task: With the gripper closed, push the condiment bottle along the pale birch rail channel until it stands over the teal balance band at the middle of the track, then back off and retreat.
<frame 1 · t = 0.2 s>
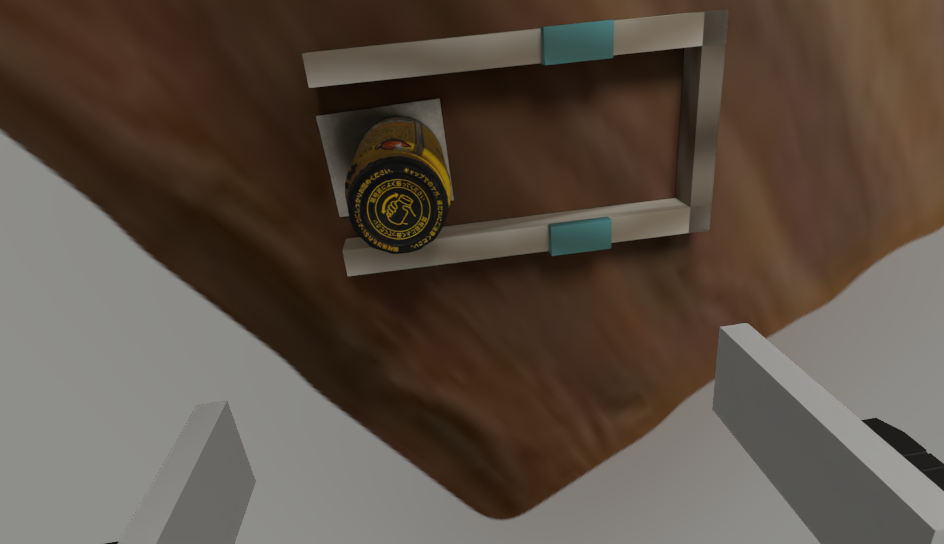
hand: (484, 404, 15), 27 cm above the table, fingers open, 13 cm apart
rail track: (519, 144, 39), on the table
condiment: (388, 158, 39), on the table
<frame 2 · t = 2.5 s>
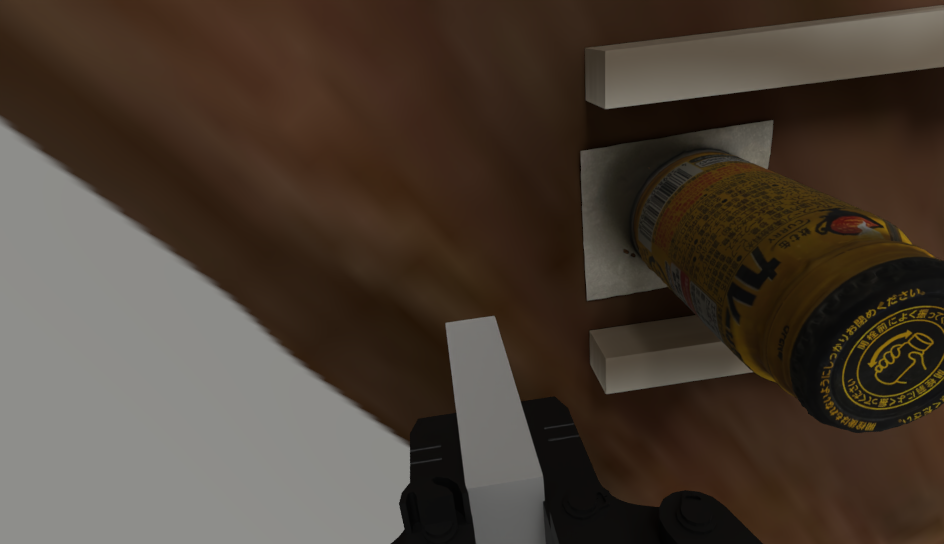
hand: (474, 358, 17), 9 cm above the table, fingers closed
rail track: (873, 187, 25), on the table
condiment: (671, 212, 25), on the table
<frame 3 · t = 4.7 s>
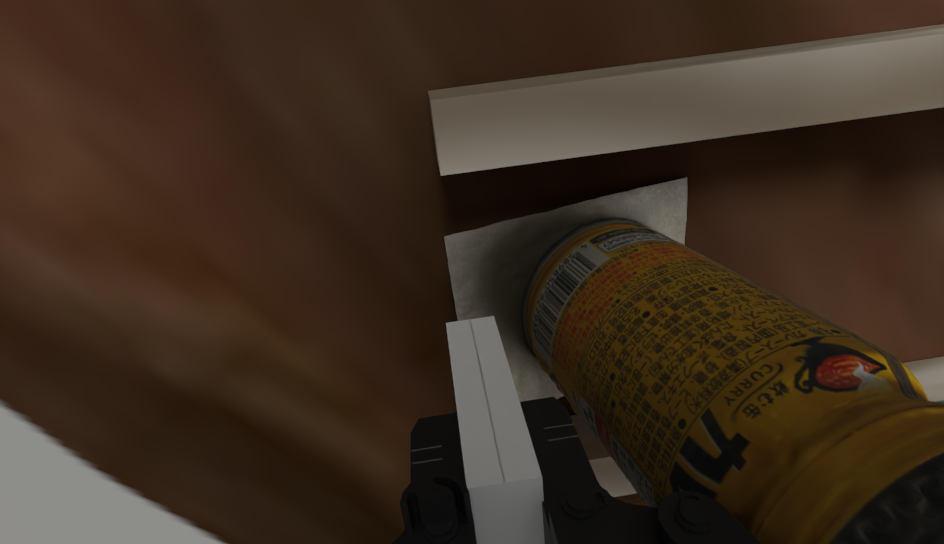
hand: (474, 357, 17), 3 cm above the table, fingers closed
rail track: (821, 255, 20), on the table
condiment: (572, 300, 19), point 1 cm above the table, touching gripper, hand
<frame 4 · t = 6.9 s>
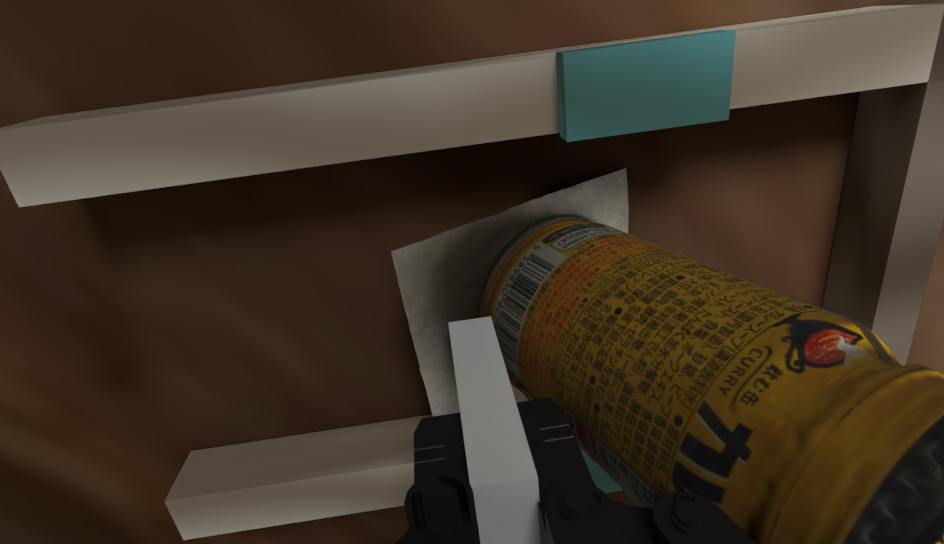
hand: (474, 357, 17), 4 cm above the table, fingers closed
rail track: (515, 278, 20), on the table
condiment: (526, 303, 19), point 1 cm above the table, touching gripper
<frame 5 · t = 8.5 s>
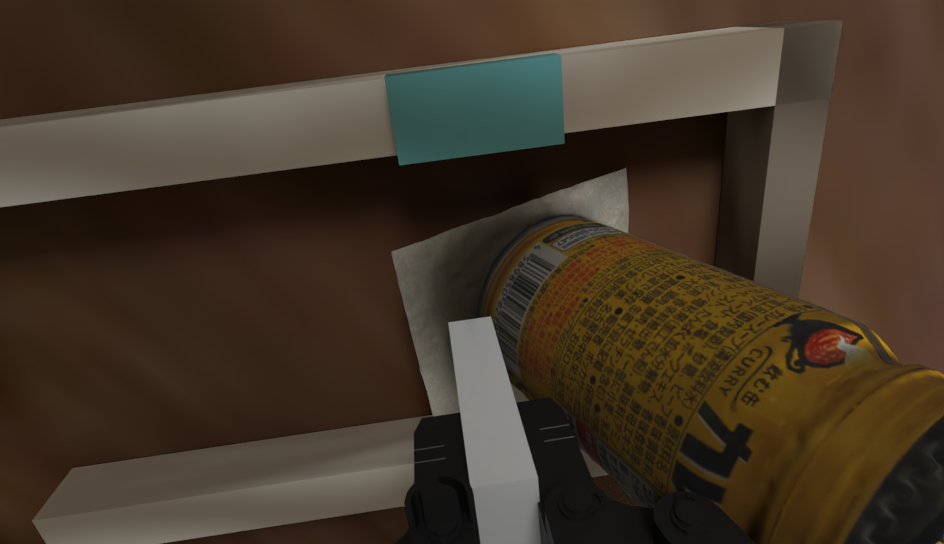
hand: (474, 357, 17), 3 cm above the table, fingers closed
rail track: (391, 296, 20), on the table
condiment: (526, 303, 19), point 1 cm above the table, touching gripper
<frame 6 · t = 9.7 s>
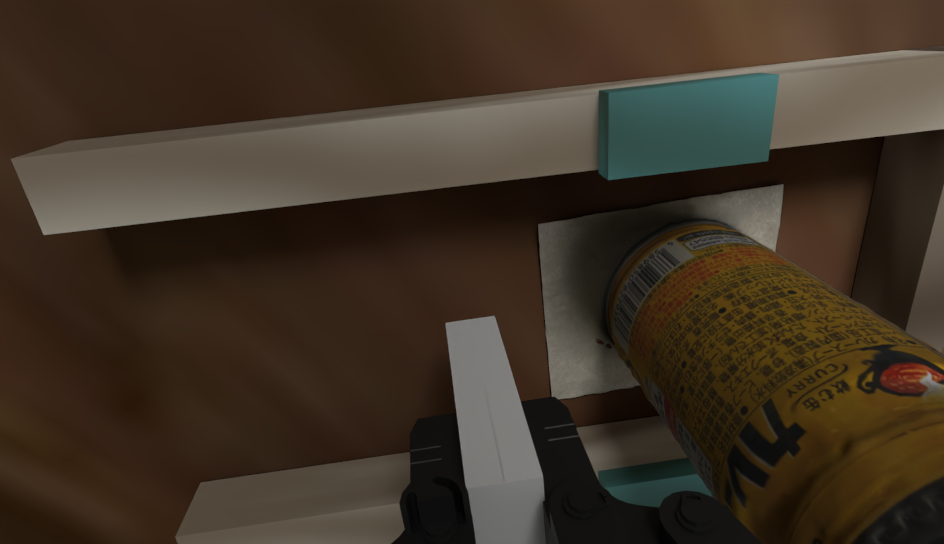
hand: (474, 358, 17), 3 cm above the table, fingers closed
rail track: (540, 310, 20), on the table
condiment: (655, 294, 20), on the table
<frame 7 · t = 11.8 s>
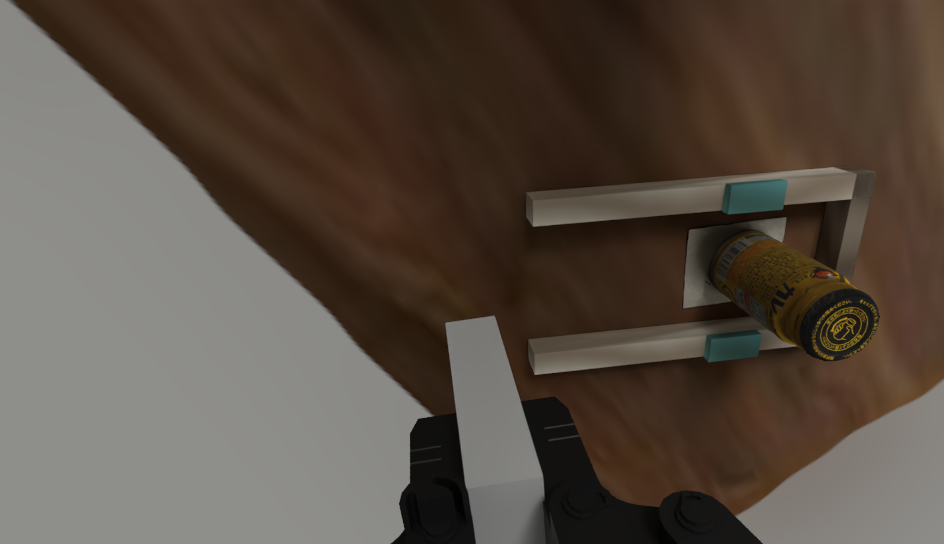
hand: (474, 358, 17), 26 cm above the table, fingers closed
rail track: (684, 266, 46), on the table
condiment: (730, 262, 47), on the table
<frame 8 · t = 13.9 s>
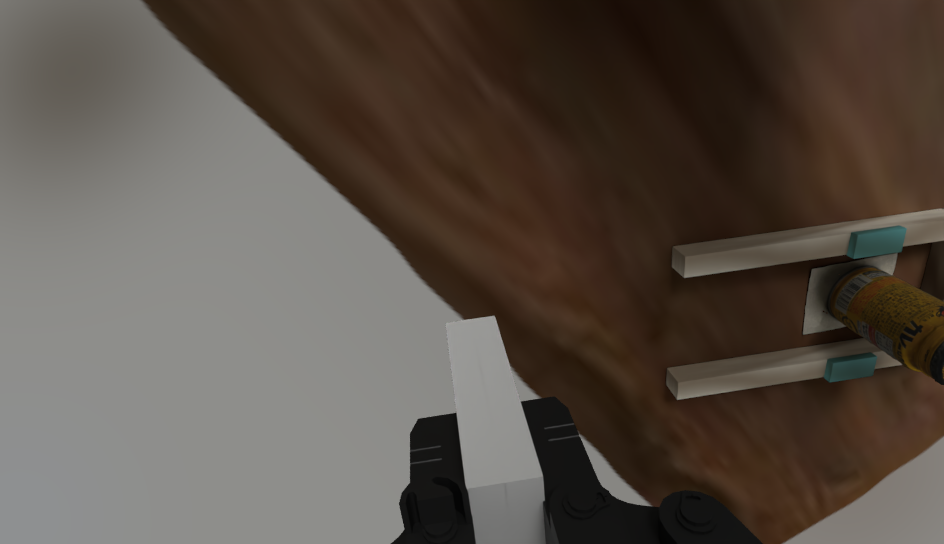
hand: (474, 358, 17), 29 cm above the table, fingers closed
rail track: (805, 299, 53), on the table
condiment: (845, 293, 53), on the table
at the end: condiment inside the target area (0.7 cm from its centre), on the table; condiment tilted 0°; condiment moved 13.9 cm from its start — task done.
